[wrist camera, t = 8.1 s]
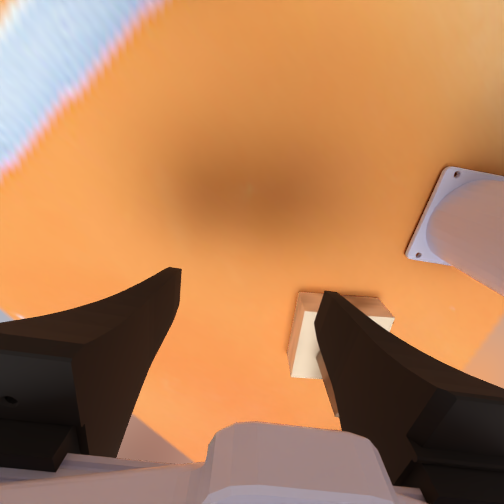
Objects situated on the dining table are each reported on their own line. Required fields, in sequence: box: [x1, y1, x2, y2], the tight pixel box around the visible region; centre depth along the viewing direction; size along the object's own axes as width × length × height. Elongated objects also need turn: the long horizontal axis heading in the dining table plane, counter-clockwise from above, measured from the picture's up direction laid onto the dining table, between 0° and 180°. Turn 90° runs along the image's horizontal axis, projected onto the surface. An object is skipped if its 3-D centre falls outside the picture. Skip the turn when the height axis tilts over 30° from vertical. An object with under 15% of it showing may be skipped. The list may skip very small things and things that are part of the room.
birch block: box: [287, 292, 395, 379], centre depth 25 cm, size 8×8×4 cm
